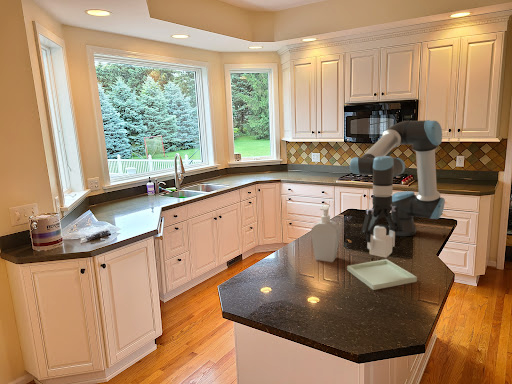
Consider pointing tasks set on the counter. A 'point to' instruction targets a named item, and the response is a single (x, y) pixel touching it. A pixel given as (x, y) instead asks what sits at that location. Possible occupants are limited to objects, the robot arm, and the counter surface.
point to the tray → (381, 274)
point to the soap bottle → (325, 237)
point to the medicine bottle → (381, 241)
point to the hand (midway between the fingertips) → (380, 247)
